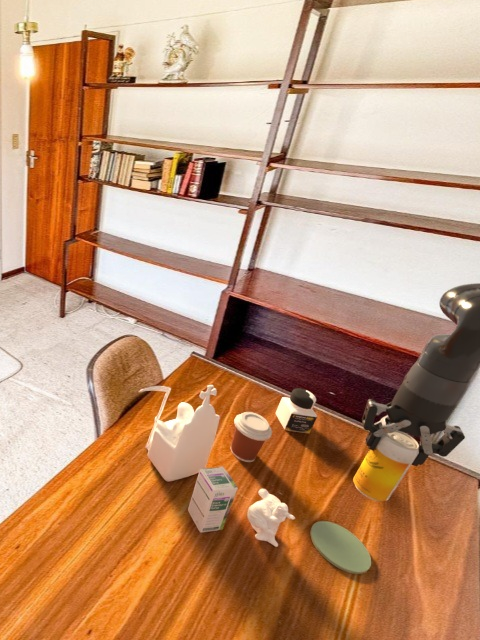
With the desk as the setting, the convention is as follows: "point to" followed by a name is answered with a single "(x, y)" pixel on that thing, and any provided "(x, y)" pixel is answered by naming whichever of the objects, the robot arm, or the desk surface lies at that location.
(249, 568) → the desk surface
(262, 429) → the coffee cup
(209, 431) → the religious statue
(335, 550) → the coaster
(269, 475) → the desk surface
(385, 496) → the beer can
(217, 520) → the syrup box
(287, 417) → the medicine bottle
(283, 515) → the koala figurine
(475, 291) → the robot arm
